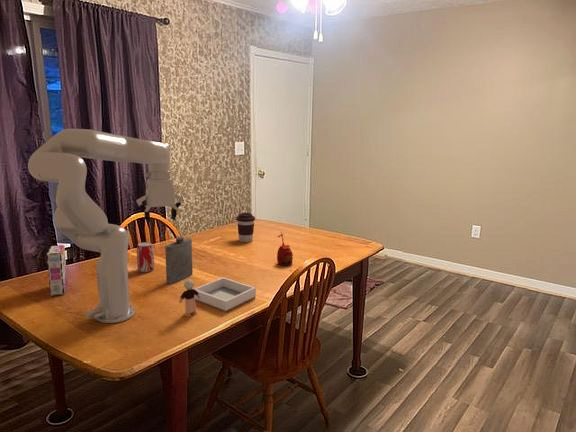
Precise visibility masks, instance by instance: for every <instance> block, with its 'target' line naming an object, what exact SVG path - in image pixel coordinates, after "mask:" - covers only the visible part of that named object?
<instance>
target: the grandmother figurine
mask: <svg viewBox="0 0 576 432" xmlns="http://www.w3.org/2000/svg"><path fill="white" fill-rule="evenodd" d="M183 286H184V287H185V289H186V290H184V291H183V292H182V294H181V295H180V297H179V300H178V302H179V304H182V303H183V301H184V303H185V304H184V305H185V306H184V308H185V313H184V314H183V315H184V316H186V317H187V318H188V317H192V315H193V316H194V315H197V314H198V312H197V303H196V302H197V301H195V297H194V295H196V296H197V298H198V299H200V295H199V293H198V292H197V291H196V290H195V288H193V287H194V286H195V282H194V281H193V279H190V278H189V279H188V278H187V279H185V281H184V283H183Z"/></svg>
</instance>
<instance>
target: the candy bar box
mask: <svg viewBox="0 0 576 432" xmlns="http://www.w3.org/2000/svg"><path fill="white" fill-rule="evenodd" d="M65 247H66V246H65V245H64V244H63V245H52V246H50V248H49V249H48V251H47V253H46V258H47V259H46V261H47V269H48V270H47V271H48V281H49V282H48V283H49V293H50V297H54V296H55V297H56V296H64V295H65V293H66V290H67V286H68V273H67V263H66V262H67V260H66V250H65V249H66V248H65Z"/></svg>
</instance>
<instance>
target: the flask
mask: <svg viewBox="0 0 576 432" xmlns="http://www.w3.org/2000/svg"><path fill="white" fill-rule="evenodd" d="M164 248H165V250H164V251H165V272H166V273H165V274H166V285H174V284H176V283H179V282H181V281H183V280H187V279H188V278H190V277H191V276H193V273H194V272H193V239H192V237H191V238H190V237H187V238H186V237H185V238H184V236H176V237H175V242H172V243H169V244H167V245H165V246H164Z"/></svg>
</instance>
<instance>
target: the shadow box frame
mask: <svg viewBox="0 0 576 432" xmlns="http://www.w3.org/2000/svg"><path fill="white" fill-rule="evenodd" d="M194 289H195V290H196V291H197V292H198V293H199V295H200V299H198V298H197V296H196V295H194V297H195V302H199V303H201V304H203V305H205V306H209V307H212V308H214V309H217V310H219V311H221V310H222V312H224V311H225V312H224V313H227V311H228V312H229V310H230V311H232V310H233V309H232V308H234V309H236V308H238V307H239V306H238V305H240V306H241V304H242V305H243V303H244V304H246V303H248V302H249V301H248V300H250V299H252V298H254V297H257V293H256V292H257V291H256V290H257V288H256V287H254V286H251V285H248V284H245V283H242V282H239V281H236V280H233V279H230V278H226V277H224V276H222V277H220V278H217V279H215V280H213V281H210V282H207V283H205V284H202V285H199V286H197V287H195V288H194ZM254 299H255V298H254ZM252 300H253V299H252ZM247 301H248V302H247ZM250 301H251V300H250ZM245 302H246V303H245ZM237 306H238V307H237ZM235 307H236V308H235ZM231 309H232V310H231Z"/></svg>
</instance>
